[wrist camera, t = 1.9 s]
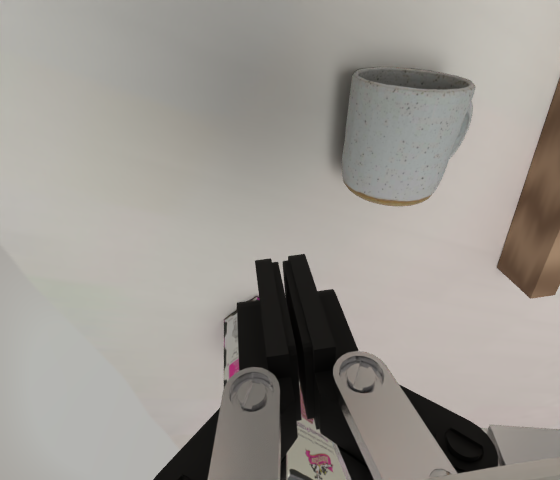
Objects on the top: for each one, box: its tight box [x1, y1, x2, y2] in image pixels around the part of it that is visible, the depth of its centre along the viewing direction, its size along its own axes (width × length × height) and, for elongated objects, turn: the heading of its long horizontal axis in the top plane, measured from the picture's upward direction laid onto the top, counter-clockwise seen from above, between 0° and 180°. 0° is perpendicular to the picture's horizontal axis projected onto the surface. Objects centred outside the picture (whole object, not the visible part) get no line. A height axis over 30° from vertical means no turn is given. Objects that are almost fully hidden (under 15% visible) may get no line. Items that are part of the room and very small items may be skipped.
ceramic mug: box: [342, 67, 475, 206], centre depth 25 cm, size 11×8×8 cm
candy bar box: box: [224, 297, 346, 480], centre depth 32 cm, size 11×5×16 cm, turn 40°
